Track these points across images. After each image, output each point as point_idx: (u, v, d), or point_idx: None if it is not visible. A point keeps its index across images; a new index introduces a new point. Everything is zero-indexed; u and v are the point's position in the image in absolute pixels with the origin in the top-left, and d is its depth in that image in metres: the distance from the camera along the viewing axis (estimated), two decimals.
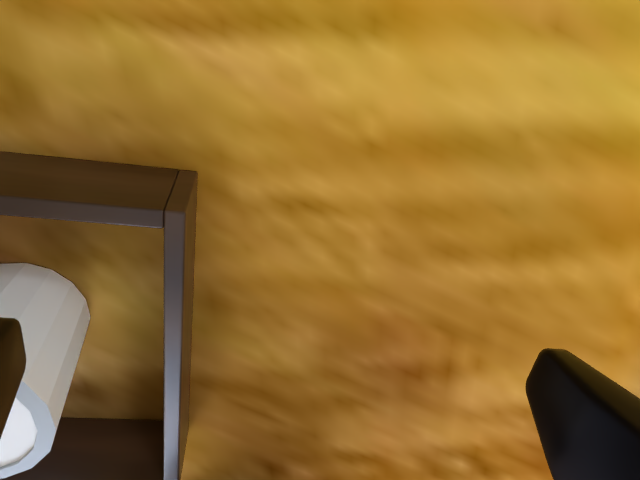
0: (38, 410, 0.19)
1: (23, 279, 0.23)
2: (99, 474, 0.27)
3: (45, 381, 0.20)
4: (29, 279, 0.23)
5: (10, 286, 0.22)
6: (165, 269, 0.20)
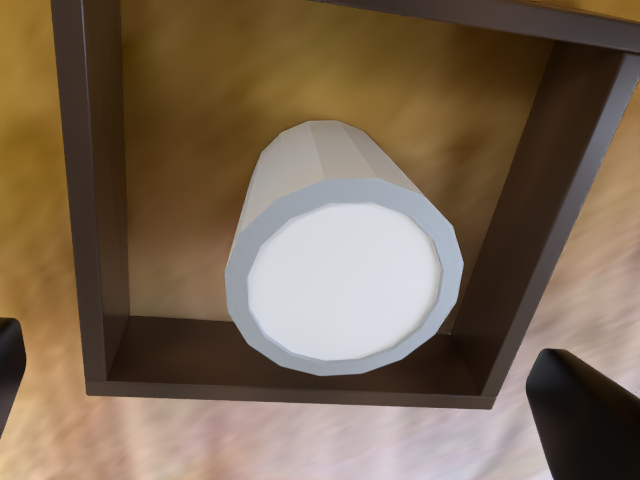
0: (331, 192, 0.13)
1: (250, 182, 0.19)
2: (574, 151, 0.17)
3: (306, 175, 0.14)
4: (253, 176, 0.19)
5: (246, 196, 0.18)
6: None
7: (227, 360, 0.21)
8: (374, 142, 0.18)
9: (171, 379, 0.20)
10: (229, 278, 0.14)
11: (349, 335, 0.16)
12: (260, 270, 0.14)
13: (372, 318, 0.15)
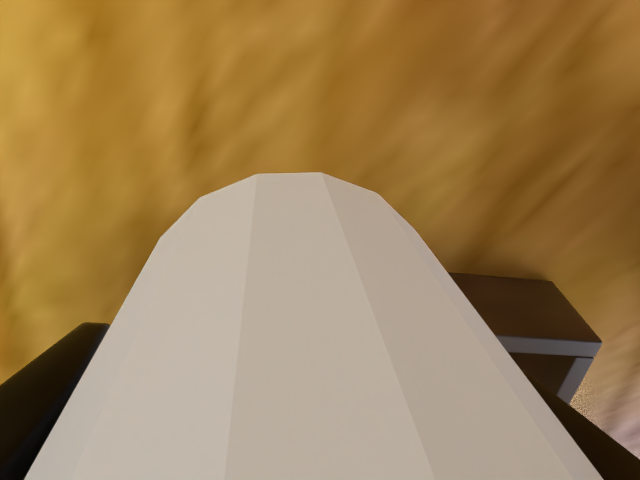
0: None
1: None
2: None
3: (162, 478, 0.03)
4: None
5: None
6: None
7: None
8: (403, 231, 0.08)
9: None
10: None
11: None
12: None
13: None
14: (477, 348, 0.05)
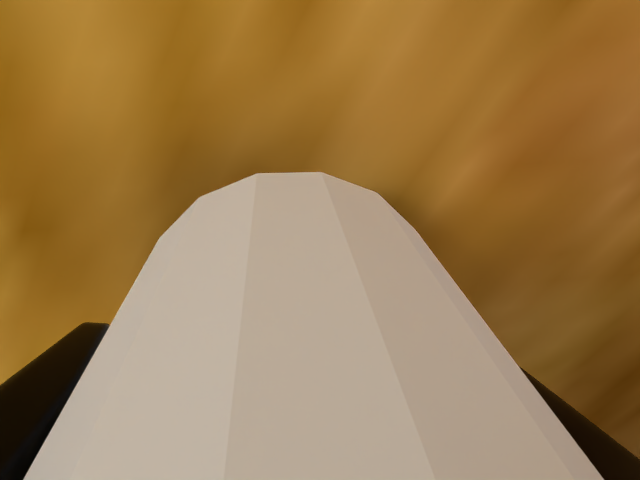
0: None
1: None
2: None
3: (162, 478, 0.03)
4: None
5: None
6: None
7: None
8: (403, 230, 0.08)
9: None
10: None
11: None
12: None
13: None
14: (477, 348, 0.05)
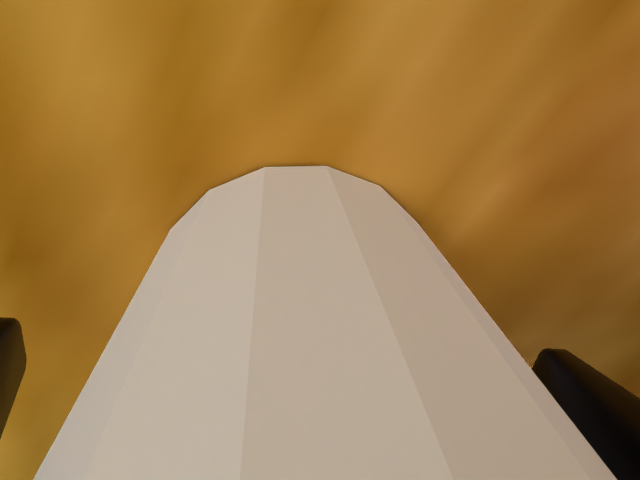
0: None
1: None
2: None
3: (187, 435, 0.04)
4: None
5: None
6: None
7: None
8: (406, 221, 0.08)
9: None
10: None
11: None
12: None
13: None
14: (475, 327, 0.06)
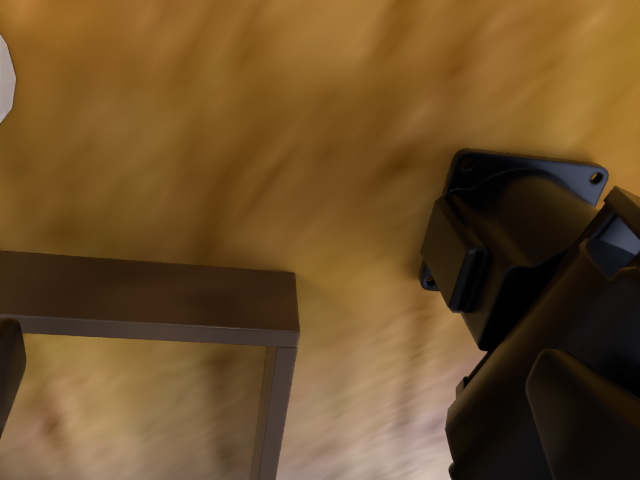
0: None
1: None
2: (267, 399, 0.21)
3: None
4: None
5: None
6: None
7: None
8: None
9: None
10: None
11: None
12: None
13: None
14: None
